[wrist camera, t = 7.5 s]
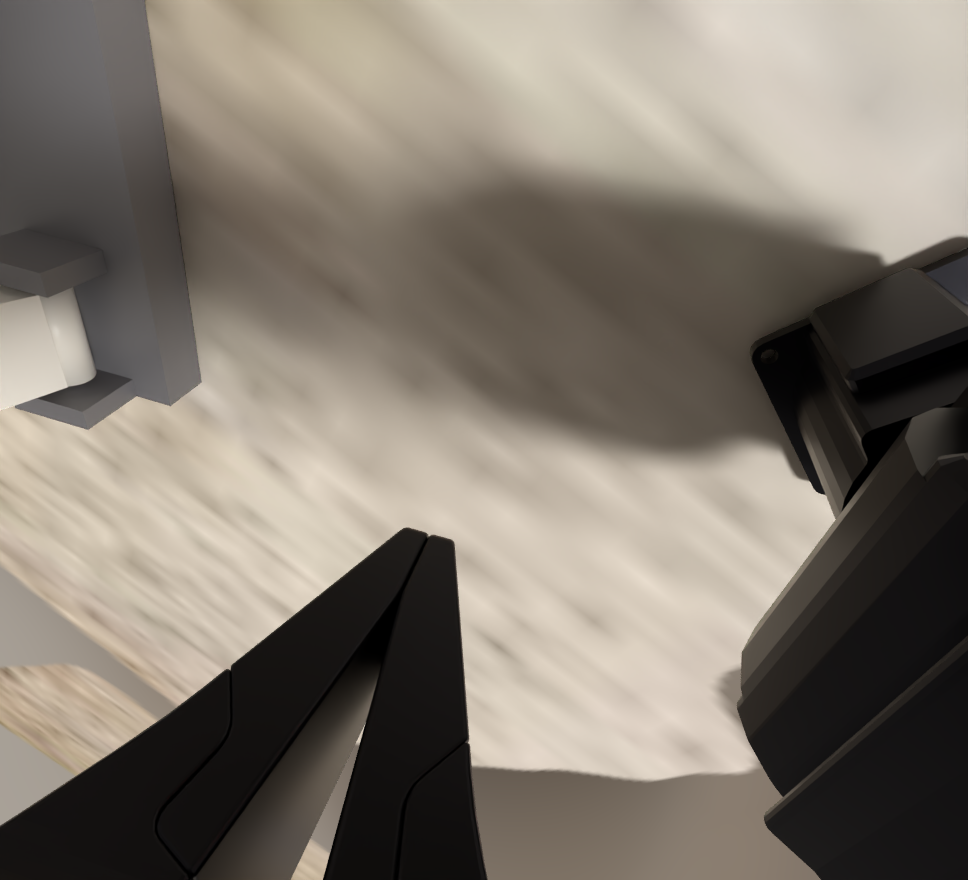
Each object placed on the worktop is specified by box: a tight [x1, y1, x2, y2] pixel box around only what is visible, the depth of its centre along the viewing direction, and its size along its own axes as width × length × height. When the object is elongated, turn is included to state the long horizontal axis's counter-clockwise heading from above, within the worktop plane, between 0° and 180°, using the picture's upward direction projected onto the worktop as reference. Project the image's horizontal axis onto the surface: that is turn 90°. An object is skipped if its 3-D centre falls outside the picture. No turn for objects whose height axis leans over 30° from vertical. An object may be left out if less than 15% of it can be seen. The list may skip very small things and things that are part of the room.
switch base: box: [0, 0, 201, 430], centre depth 17 cm, size 6×21×4 cm, turn 170°
